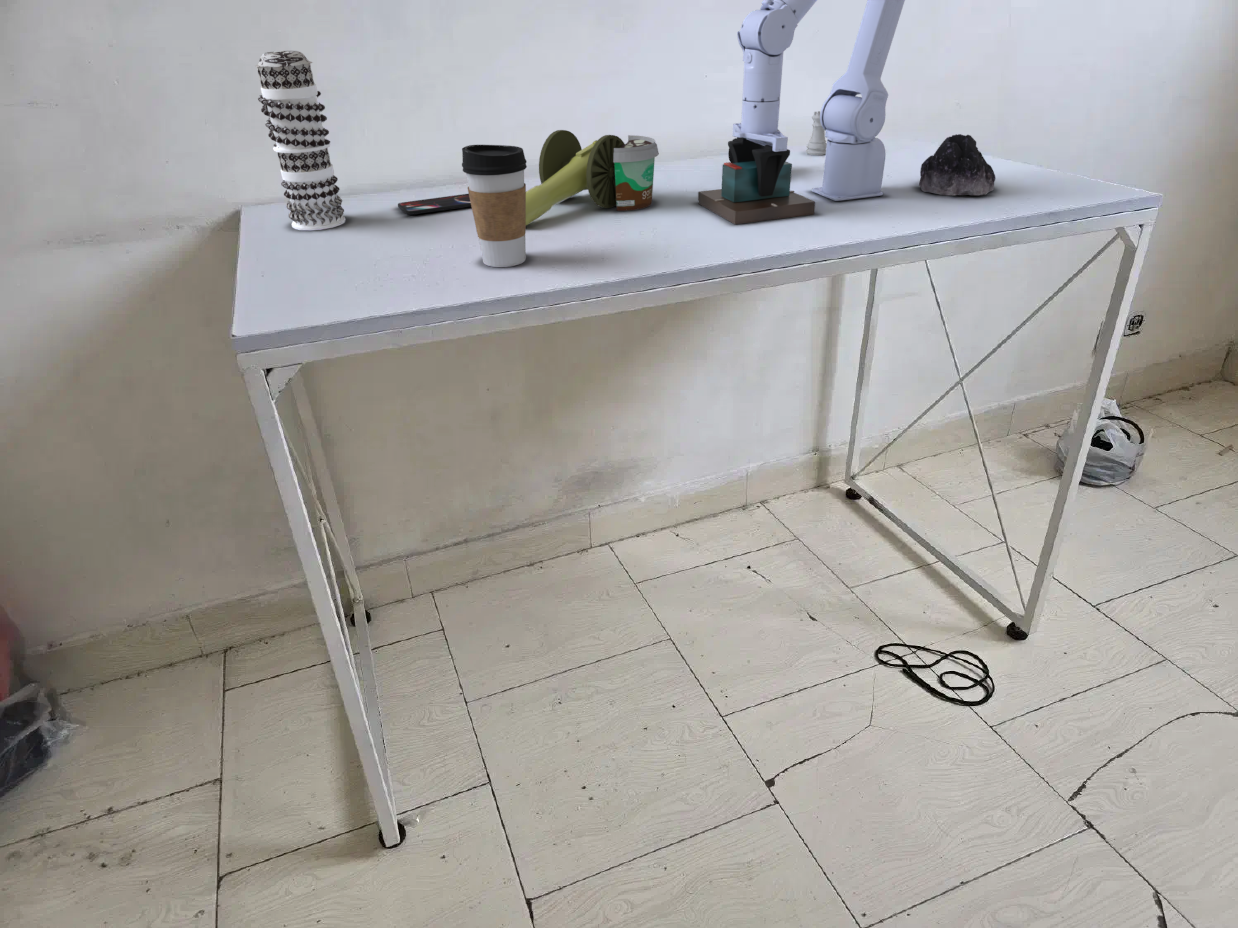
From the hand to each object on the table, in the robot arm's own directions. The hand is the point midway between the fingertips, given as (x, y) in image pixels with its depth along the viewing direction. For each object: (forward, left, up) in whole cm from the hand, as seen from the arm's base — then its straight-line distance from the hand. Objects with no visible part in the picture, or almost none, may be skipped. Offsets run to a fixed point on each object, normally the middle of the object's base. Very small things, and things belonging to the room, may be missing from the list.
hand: (755, 190), depth 130 cm
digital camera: (-11, -22, -3) cm, 25 cm away
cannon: (+29, -12, -3) cm, 31 cm away
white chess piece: (-32, -34, -3) cm, 47 cm away
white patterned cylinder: (+68, -22, -3) cm, 72 cm away
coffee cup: (+44, +10, -3) cm, 45 cm away
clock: (0, 0, -3) cm, 3 cm away
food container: (+16, -11, -3) cm, 19 cm away
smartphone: (+47, -24, -3) cm, 53 cm away
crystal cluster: (-37, +3, -3) cm, 37 cm away
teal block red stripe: (0, 0, -1) cm, 1 cm away
